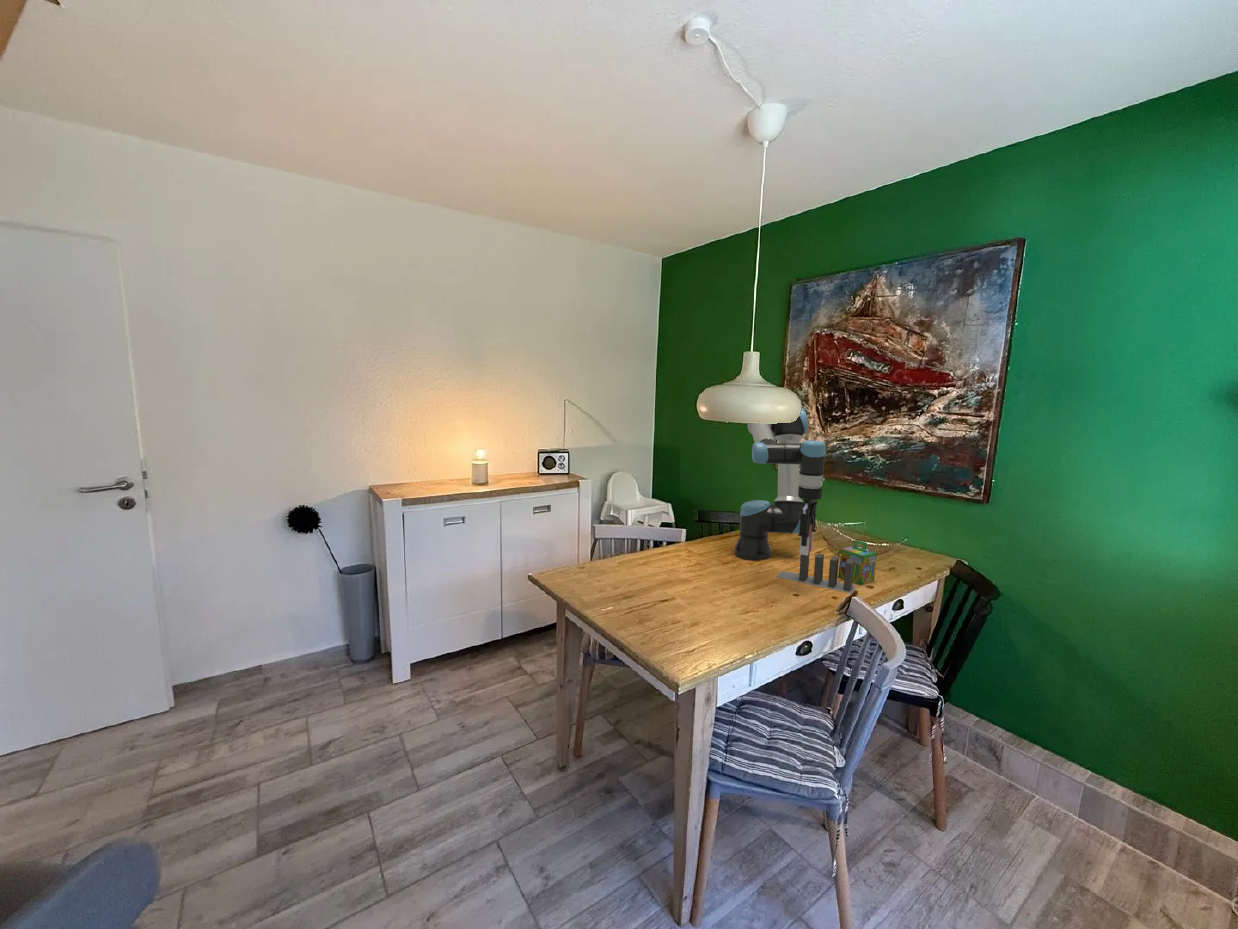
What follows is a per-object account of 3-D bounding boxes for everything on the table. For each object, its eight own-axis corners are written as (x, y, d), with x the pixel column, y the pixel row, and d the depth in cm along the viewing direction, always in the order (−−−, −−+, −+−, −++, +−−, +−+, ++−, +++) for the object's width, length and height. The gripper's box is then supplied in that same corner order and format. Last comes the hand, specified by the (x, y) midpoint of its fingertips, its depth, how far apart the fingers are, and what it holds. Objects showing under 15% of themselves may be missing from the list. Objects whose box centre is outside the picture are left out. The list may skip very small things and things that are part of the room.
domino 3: (813, 583, 171) (815, 556, 169) (816, 579, 175) (818, 553, 174) (819, 584, 170) (820, 558, 168) (822, 580, 174) (824, 554, 172)
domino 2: (798, 580, 174) (800, 554, 172) (802, 576, 178) (804, 550, 176) (804, 581, 173) (806, 555, 171) (808, 577, 177) (809, 551, 175)
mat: (775, 577, 177) (775, 576, 177) (782, 571, 184) (782, 570, 183) (851, 594, 162) (852, 593, 162) (855, 587, 169) (855, 586, 169)
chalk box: (837, 578, 177) (840, 540, 175) (851, 573, 182) (854, 536, 180) (861, 587, 169) (864, 547, 167) (875, 581, 174) (878, 543, 172)
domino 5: (843, 590, 165) (845, 562, 164) (845, 585, 169) (848, 558, 168) (849, 591, 164) (851, 563, 163) (852, 586, 168) (854, 559, 167)
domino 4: (828, 586, 168) (830, 559, 167) (830, 582, 172) (832, 555, 171) (834, 588, 167) (836, 560, 165) (836, 583, 171) (838, 557, 170)
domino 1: (800, 554, 162) (802, 526, 161) (804, 550, 166) (806, 522, 165) (806, 555, 161) (808, 527, 160) (810, 551, 165) (812, 523, 164)
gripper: (816, 492, 150) (811, 562, 154) (827, 483, 165) (822, 547, 169) (791, 489, 155) (787, 557, 159) (805, 480, 169) (801, 543, 173)
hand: (805, 552), depth 164 cm, fingers closed on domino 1, 5 cm apart
